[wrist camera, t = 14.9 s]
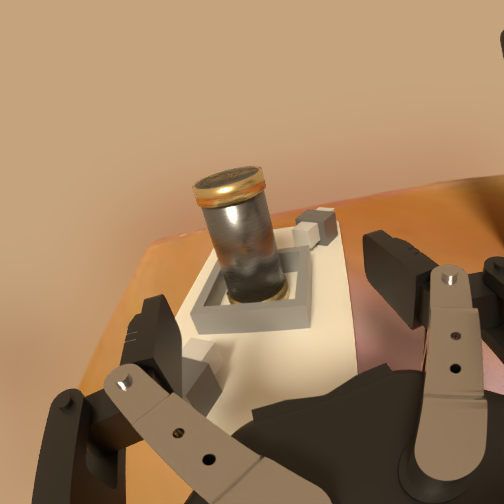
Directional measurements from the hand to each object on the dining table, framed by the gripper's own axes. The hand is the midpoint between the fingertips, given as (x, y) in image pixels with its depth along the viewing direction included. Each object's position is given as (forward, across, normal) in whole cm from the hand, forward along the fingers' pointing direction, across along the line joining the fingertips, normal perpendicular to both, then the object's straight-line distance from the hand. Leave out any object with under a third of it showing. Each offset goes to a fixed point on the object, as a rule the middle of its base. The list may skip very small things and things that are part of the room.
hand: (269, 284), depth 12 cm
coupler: (+11, 0, +8) cm, 14 cm away
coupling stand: (+11, 0, +9) cm, 14 cm away
